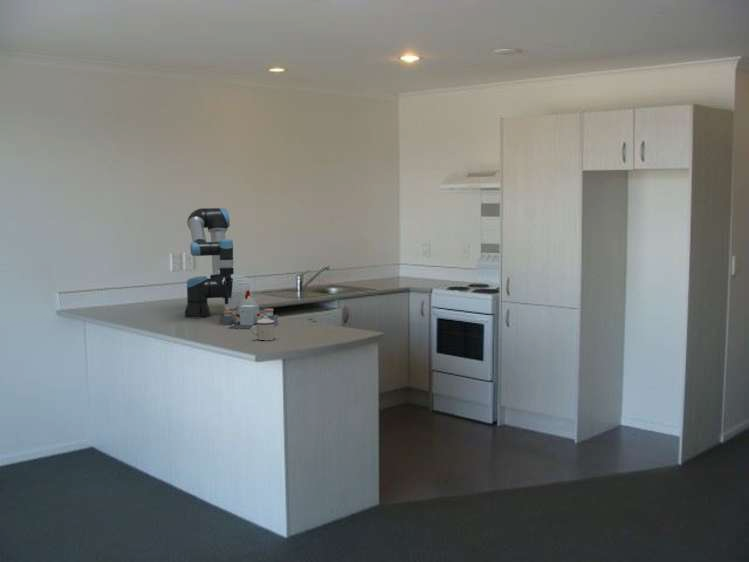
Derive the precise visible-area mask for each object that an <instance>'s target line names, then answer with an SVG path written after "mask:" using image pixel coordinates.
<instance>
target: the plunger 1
mask: <svg viewBox="0 0 749 562" xmlns="http://www.w3.org/2000/svg"><path fill="white" fill-rule="evenodd" d="M222 314H224V316H231V314H233V310H223V311H222Z"/></svg>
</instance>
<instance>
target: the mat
mask: <svg viewBox="0 0 749 562" xmlns="http://www.w3.org/2000/svg"><path fill="white" fill-rule="evenodd" d="M253 326H255V325H240V324H239V325H230V326H229V327H228V328H235V329H234V330H251V329H250V328H252V327H253ZM239 328H240V329H239Z"/></svg>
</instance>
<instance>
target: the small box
mask: <svg viewBox="0 0 749 562" xmlns="http://www.w3.org/2000/svg"><path fill="white" fill-rule="evenodd" d="M239 321H240V324H239V325H254V323H256V322H257V321H258V317H257V306H256V305H242V306H240V317H239Z"/></svg>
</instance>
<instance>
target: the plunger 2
mask: <svg viewBox="0 0 749 562" xmlns="http://www.w3.org/2000/svg"><path fill="white" fill-rule="evenodd" d="M264 311H265V315H266V316H267V317H273V315H274V308H264Z"/></svg>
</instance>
